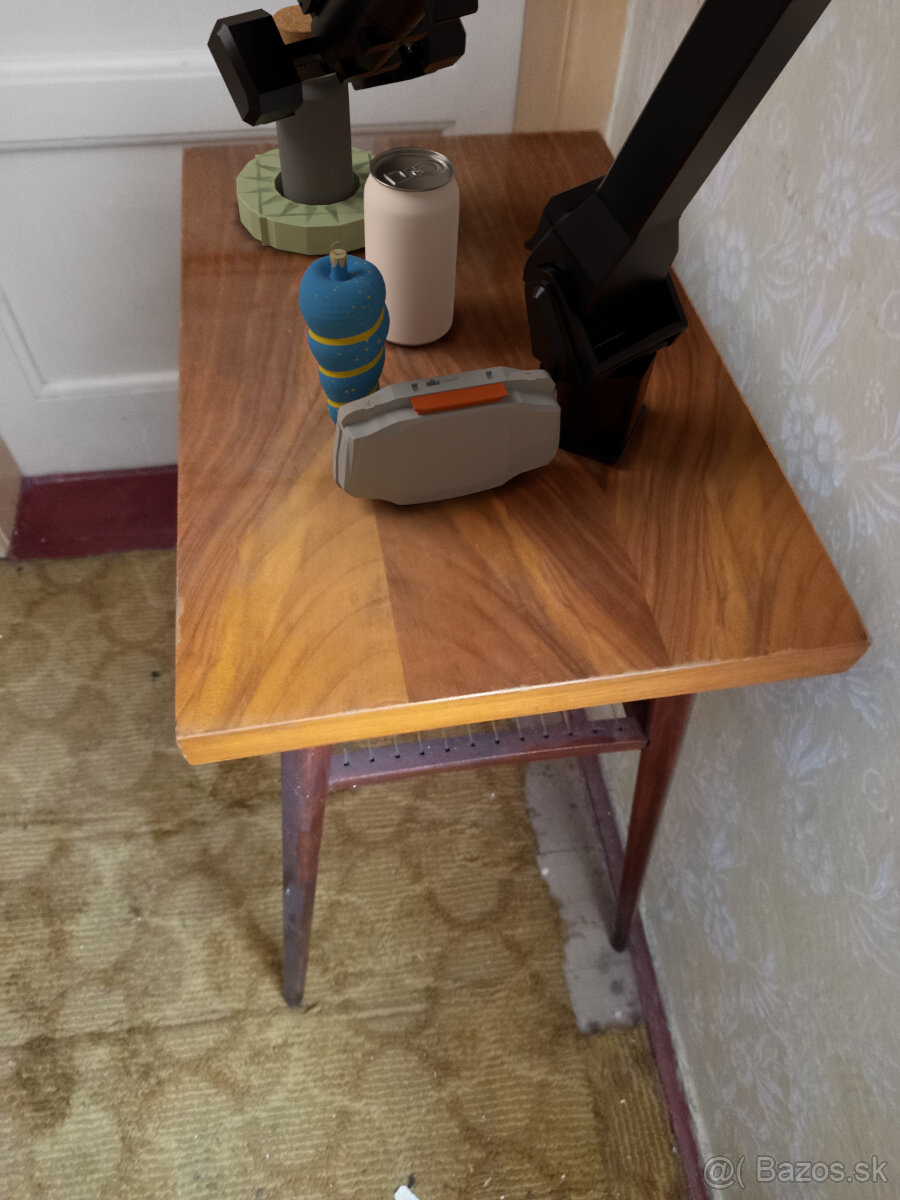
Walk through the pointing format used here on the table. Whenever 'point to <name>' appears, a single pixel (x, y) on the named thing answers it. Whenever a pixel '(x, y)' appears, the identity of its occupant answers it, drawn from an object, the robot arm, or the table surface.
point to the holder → (300, 209)
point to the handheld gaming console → (446, 435)
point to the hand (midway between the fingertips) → (305, 98)
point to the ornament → (345, 325)
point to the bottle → (314, 131)
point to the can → (413, 240)
